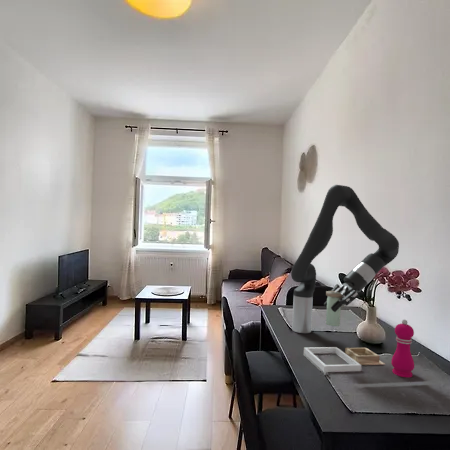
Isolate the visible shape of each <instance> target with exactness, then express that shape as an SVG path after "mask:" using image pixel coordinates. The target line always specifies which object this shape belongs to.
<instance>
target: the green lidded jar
mask: <svg viewBox="0 0 450 450" xmlns="http://www.w3.org/2000/svg"><path fill="white" fill-rule="evenodd" d="M341 295H342V294H341V293H340V292H335V291H331V290H328V291H327V290H326V291H325V296H327V298H326V301H327V308H326V314H325V324H326V325H327V326H329V327H330V326H331V327H340V325H341V311H342V310H341V308H342V307H340V308H339V309H338V310H337V311H336V312H334V311H333V310H332V309H331V307H332V306H333V305H334V303H335V302H337V301H338V299H339V298H340V297H341Z"/></svg>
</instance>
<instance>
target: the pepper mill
mask: <svg viewBox="0 0 450 450" xmlns="http://www.w3.org/2000/svg"><path fill="white" fill-rule="evenodd" d="M394 333H395V335H396V336H395V341H396V349H395V352H393V353H394V354H393V355H392V357H391V363H390V364H391V366H392V367H393V368H392V373H393V374H394V375H396V376H397V377H402V378H412V377H413V372H412V371H413V370H414V369H415V362H414V358H413V355H412V353H411V352H412V351H411V344H413V342H412V341H413V340H412V338H413V337H414V335H415V331H414V328H413V326H411V325H410V324H408V320H406V319H402V320H401V323H399V324H396V325H395V327H394Z"/></svg>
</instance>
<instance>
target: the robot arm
mask: <svg viewBox="0 0 450 450" xmlns="http://www.w3.org/2000/svg"><path fill="white" fill-rule="evenodd" d="M323 200H324V201H323V204H322V207H321V210H320V212H319V214H318V216H317V218H316V221H315V223H314V225H313V227H312V229H311V231H310V233H309V235H308V237H307V239H306V240H307V241H306V242H305V244H304V246H303V248H302V250H301V252H300V254H299V255H298V256H297V259H296V260H295V262H294V264H293V266H292V268H291V270H290V272H291V273H290V276H291V277H290V278H291V279H292V280H293V281H294V282H295V283H299V285H298V286H297V287H296V288H294V290H293V300H292V301H293V302H292V303H293V304H292V321H291V322H292V324H291V330H292V331H293V332H295V333H299V334H310V333H312V325H313V324H312V323H313V321H312V320H313V319H312V318H313V299H314V298H313V297H314V292H315V291H316V290H315V289H316V281H317V280H316V279H317V272H316V267H315V266H314V265H313V264H312V262H313V260H314V259H315V258H316V257H318V256H319V255H320V254H321V253H322V252H323V251H324V250H325V249H326V248H327V246H329V245H328V244H329V242H330V240H331V238H332V237H333V231H334V216H335V214H336V212H337V210H338V208H339V207H345V208H346V209H347V210H348V211H349V212H350V213H351V214H352V215H353V218H354V219H355V223H356V225H357V227H358V228H359V229H360V231H361V232H362V233H363V234H364V236H365V237H367V239H368V240H370V241H372V242H375V244H376V245H377V246H378V248H377V250H376V251H374V252H373V253H369V254H368V255H366V256H365V257H364V258H363V259H362V260H361V262H359V263H358V264H357V265H356V266H355V267H353V268H352V269H351V270H350V272H349V273H348V274H346V275H345V277H343V280H344V282H343V283H341V285H339V284H338V283H336V284H335V285H334V286H333V288H332V289H331V290H330V291H335V292H340V293H341V294H342V295H341V297H340V298H339V299H338V301H337V302H335V303H334V305H333V306H332V307H331V309H332V310H333V311H334V312H336V311H337V310H338V309H339V308H340V307H341V306H344V305H345V307H346V306H348V305H349V304H351V303H352V302H353V301H355V300H356V299H358V298H359V296H360V295H359V294H358V293H360V292H361V291H363V290H364V289H365V287H366V286H367V285H368V284H369V283H370V282H371V281H372V280H373V279H374V278H375V276H376V275H377V274H378V273H379V272H380V271H381V270H382V269H383V268H384V267H386V266H387V265H388V264H390V263H391V262H392V261H394V260H395V259H396V257H397V256H398V255H399V251H400V242H399V240H398V239H397V237H396V235H394V234H393V233H391V232H390V231H389V230H387V229H386V228H385V227H383V226H382V225H381V224H380V223H379V222H378V221H377V220H376V218H375V217H373V215H372V214H371V213H370V212H369V211H368V209H367V208H366V207H365V206H364V203H362V200H361V199H360V198H359V196H358V195H357V193H356V191H355V190H354V189H353V188H352V187H350V186H348V185H343V184H334V185H332V186H330V188H329V189H328V190H327V193H326V195H325V198H324V199H323ZM323 306H324V307H325V308H326V309H327V300H326V301H325V302H324V303H323ZM341 308H342V307H341Z"/></svg>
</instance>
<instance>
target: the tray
mask: <svg viewBox="0 0 450 450" xmlns="http://www.w3.org/2000/svg"><path fill="white" fill-rule="evenodd" d="M315 354H335V355H337V356H338V357H340V358H341V359H342V360H344V361H345V362H346V363H347V364H326V363H325V362H323V360H321V359H320V358H319V357H318V356H317V355H315ZM303 356H304V357H305V358H306V359H307V360H308V361H309V362H310V363H311V364H312V365H313V366H314V367H315V368H316V369H318V371H320V373H321V374H323V375H324V376H329V375H330V373H336V372H337V373H338V372H340V373H341V372H342V373H343V372H361V371H362V365H360V364H359V363H358V362H356V361H355V360H354V359H352V358H351V357H349V356H348V355H347V354H345V351H343V350H342V349H340V348H338V347H337V346H327V347H326V346H322V347H321V346H319V347H315V346H314V347H310V346H309V347H303Z"/></svg>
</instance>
